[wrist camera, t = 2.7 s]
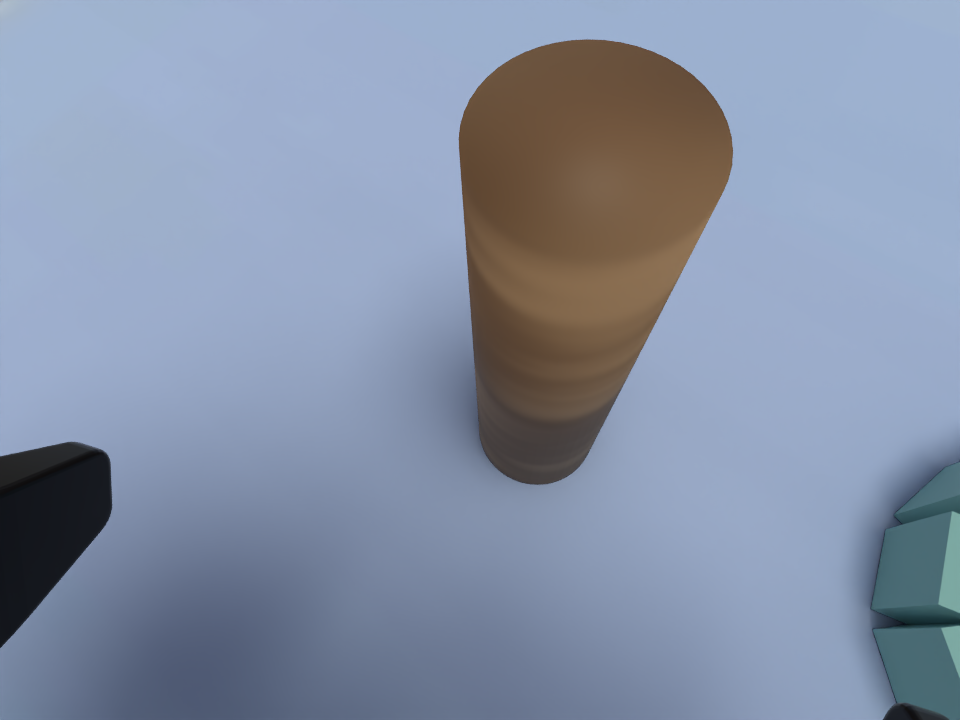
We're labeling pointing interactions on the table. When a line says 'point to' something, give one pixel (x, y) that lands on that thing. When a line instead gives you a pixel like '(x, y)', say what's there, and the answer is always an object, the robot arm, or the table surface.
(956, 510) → the teal bead
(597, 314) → the walnut peg
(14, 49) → the table surface
